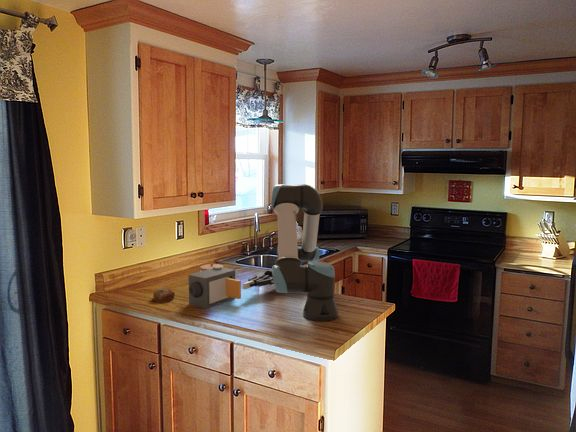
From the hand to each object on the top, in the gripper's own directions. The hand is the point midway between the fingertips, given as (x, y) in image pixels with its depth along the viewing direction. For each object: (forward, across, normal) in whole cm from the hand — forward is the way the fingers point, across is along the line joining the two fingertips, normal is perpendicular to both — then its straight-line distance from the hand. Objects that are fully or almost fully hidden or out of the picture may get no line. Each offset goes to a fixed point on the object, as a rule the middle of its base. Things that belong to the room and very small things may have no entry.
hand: (244, 286), depth 232 cm
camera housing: (+9, +13, -7) cm, 17 cm away
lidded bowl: (-16, +35, -8) cm, 39 cm away
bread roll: (+20, +34, -8) cm, 40 cm away
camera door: (+11, +2, -5) cm, 12 cm away
